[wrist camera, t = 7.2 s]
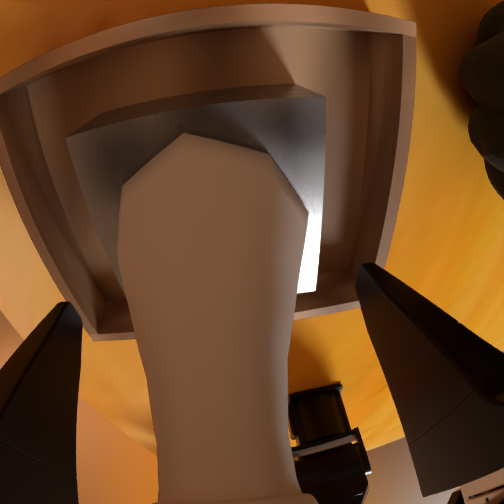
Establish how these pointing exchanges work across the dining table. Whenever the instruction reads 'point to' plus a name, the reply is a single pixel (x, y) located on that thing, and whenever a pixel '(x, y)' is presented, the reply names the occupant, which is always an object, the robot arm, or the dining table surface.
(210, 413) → the flask
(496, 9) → the squash
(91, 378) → the dining table surface
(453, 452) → the robot arm
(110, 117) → the block
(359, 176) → the brown tray
